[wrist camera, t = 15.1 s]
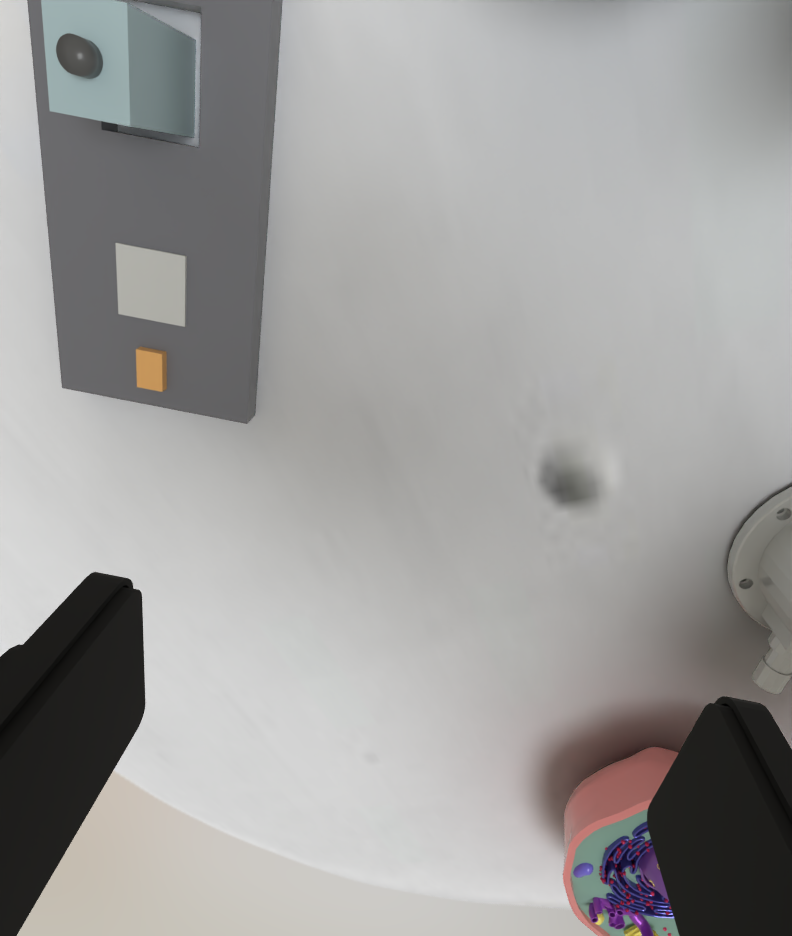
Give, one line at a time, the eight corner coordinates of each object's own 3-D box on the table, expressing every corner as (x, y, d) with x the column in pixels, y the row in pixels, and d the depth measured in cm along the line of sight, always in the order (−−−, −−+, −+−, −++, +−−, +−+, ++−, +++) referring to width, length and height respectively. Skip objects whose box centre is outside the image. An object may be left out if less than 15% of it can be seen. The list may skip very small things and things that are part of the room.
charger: (194, 137, 32) (118, 124, 25) (129, 125, 32) (35, 108, 25) (195, 40, 30) (114, -5, 23) (126, 27, 30) (23, -22, 23)
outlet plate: (254, 414, 39) (244, 427, 37) (76, 380, 39) (56, 390, 37) (285, -49, 28) (272, -66, 26) (40, -95, 28) (8, -115, 26)
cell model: (539, 850, 56) (558, 999, 46) (555, 695, 47) (582, 836, 37) (728, 863, 54) (791, 1021, 44) (780, 704, 45) (874, 854, 35)
